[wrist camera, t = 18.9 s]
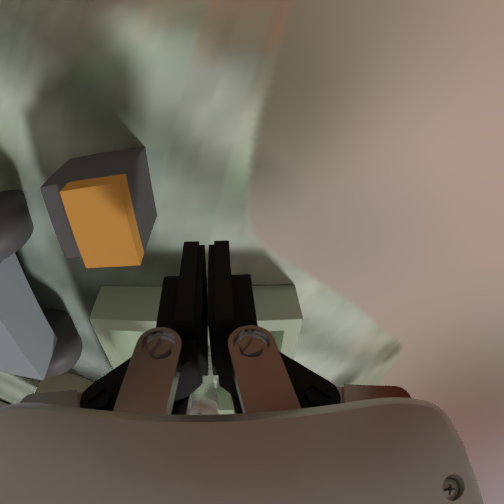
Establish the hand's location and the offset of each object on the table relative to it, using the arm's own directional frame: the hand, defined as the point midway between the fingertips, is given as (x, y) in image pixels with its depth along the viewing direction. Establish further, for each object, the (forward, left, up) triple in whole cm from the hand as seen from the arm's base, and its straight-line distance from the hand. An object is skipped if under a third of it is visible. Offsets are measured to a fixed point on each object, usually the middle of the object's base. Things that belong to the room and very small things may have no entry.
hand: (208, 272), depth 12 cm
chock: (-5, +1, -6) cm, 8 cm away
